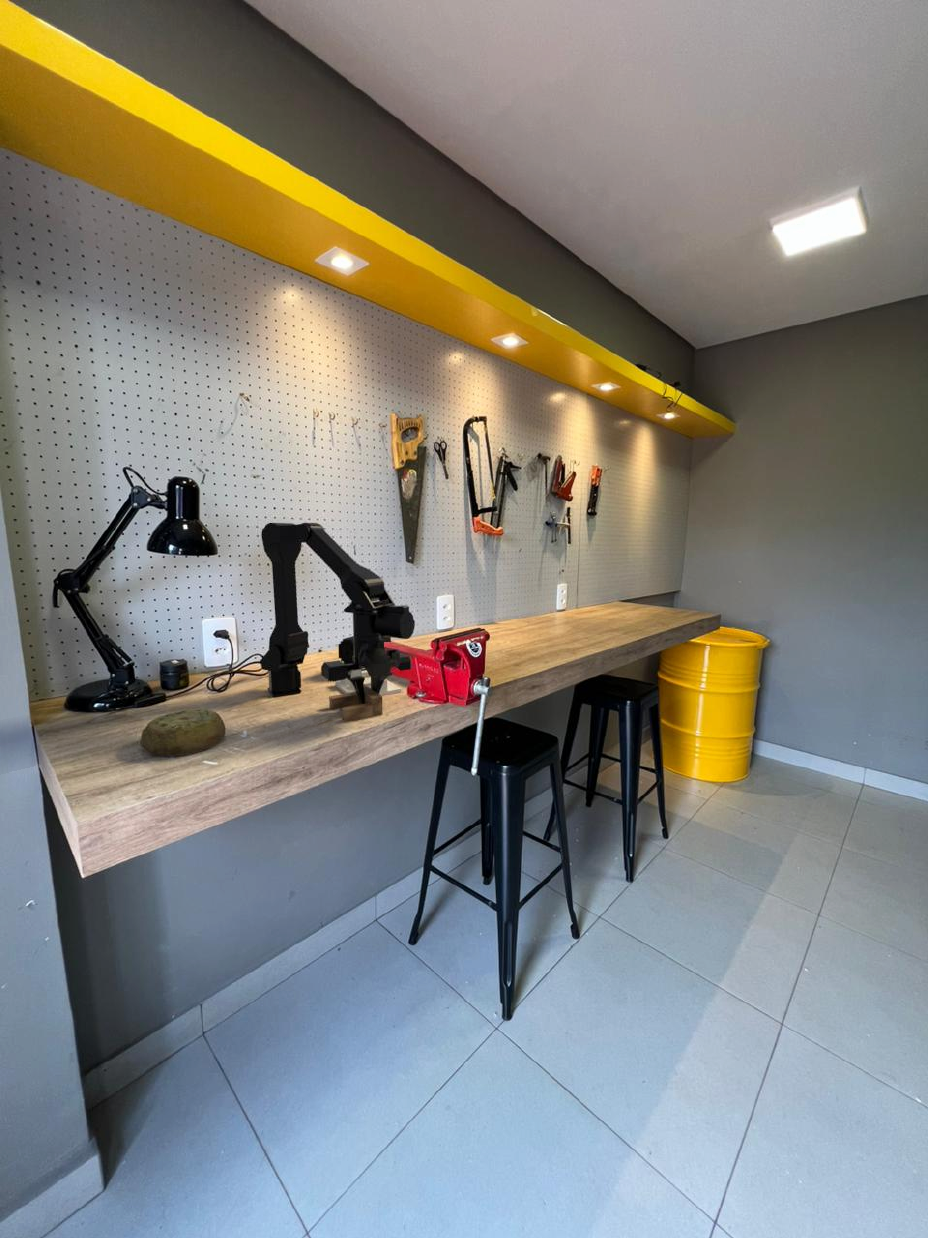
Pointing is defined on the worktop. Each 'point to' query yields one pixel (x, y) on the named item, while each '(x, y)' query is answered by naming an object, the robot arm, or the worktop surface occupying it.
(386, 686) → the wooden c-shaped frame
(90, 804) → the worktop surface
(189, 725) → the olive green pebble
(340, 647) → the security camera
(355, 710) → the wooden c-shaped bracket
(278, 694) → the robot arm
